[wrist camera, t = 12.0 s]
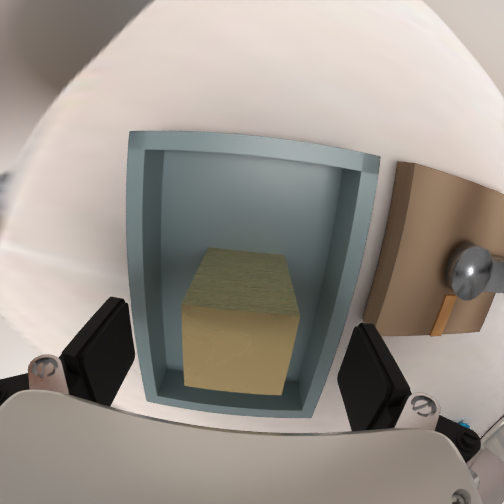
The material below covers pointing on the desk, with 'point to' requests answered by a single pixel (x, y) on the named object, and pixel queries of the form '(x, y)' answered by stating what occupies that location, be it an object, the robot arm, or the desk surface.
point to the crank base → (432, 253)
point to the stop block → (239, 323)
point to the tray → (243, 248)
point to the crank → (474, 271)
